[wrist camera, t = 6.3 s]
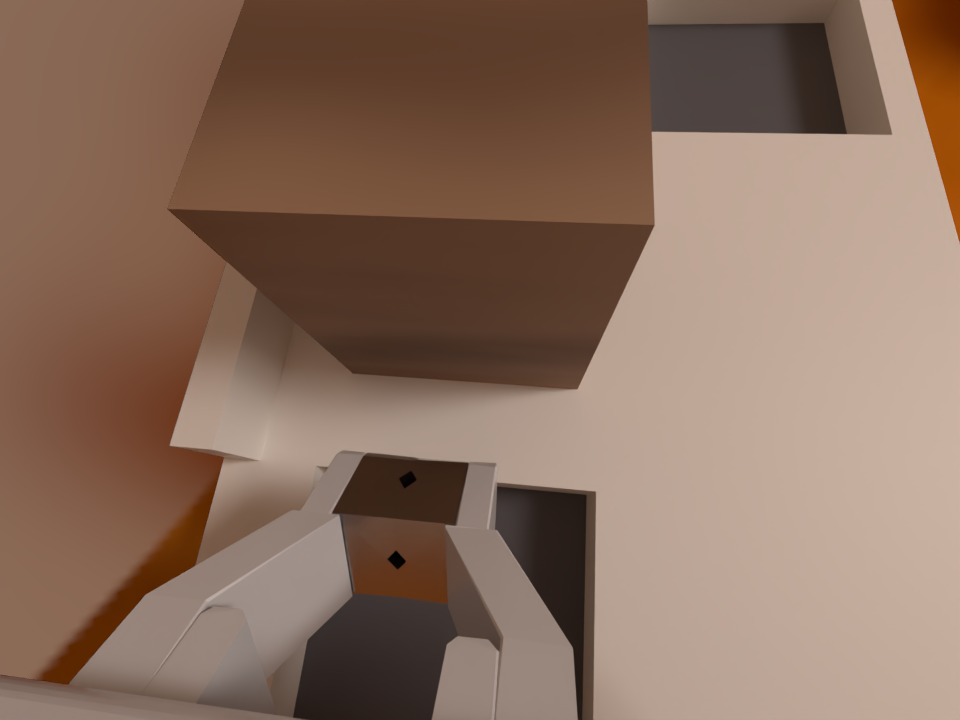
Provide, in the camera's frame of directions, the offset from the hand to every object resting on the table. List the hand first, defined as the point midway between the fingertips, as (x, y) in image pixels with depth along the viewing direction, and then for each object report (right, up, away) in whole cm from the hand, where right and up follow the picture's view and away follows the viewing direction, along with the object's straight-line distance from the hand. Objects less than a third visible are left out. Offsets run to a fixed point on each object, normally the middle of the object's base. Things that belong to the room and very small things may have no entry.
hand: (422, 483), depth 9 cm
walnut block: (+1, +5, +4) cm, 6 cm away
